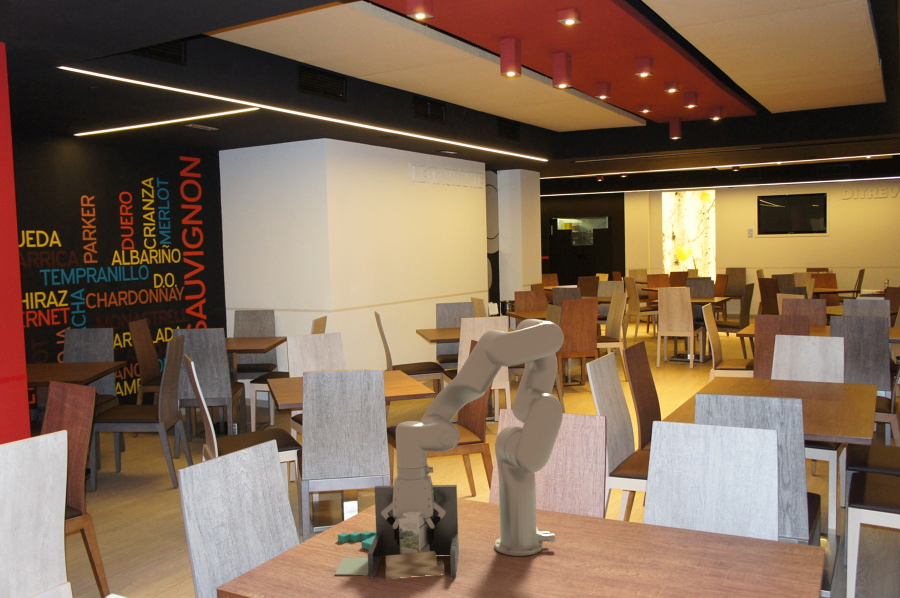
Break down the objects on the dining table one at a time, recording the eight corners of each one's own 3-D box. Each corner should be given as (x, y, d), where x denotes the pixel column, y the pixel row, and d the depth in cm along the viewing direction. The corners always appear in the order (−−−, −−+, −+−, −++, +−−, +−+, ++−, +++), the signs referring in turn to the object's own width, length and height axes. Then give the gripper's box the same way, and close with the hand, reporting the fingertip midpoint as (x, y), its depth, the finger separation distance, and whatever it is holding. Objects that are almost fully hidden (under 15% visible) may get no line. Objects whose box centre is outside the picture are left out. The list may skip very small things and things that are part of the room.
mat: (374, 558, 191) (374, 557, 191) (367, 575, 181) (367, 573, 181) (343, 559, 192) (343, 557, 192) (334, 575, 182) (334, 574, 182)
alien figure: (338, 543, 204) (393, 558, 192) (337, 534, 204) (392, 550, 192) (387, 521, 220) (441, 534, 208) (387, 513, 220) (440, 527, 208)
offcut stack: (442, 570, 183) (442, 550, 183) (444, 576, 180) (443, 555, 180) (385, 575, 182) (384, 554, 181) (386, 581, 178) (385, 560, 178)
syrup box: (430, 562, 188) (429, 505, 187) (420, 571, 183) (418, 512, 182) (410, 558, 190) (409, 502, 190) (399, 567, 185) (397, 510, 184)
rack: (458, 553, 193) (456, 484, 192) (456, 577, 178) (453, 503, 177) (378, 554, 194) (375, 485, 193) (368, 578, 180) (365, 504, 179)
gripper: (448, 467, 188) (450, 536, 189) (379, 468, 189) (382, 537, 190) (446, 476, 181) (448, 548, 182) (374, 477, 182) (377, 548, 183)
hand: (414, 542), depth 186 cm, fingers closed on syrup box, 7 cm apart
